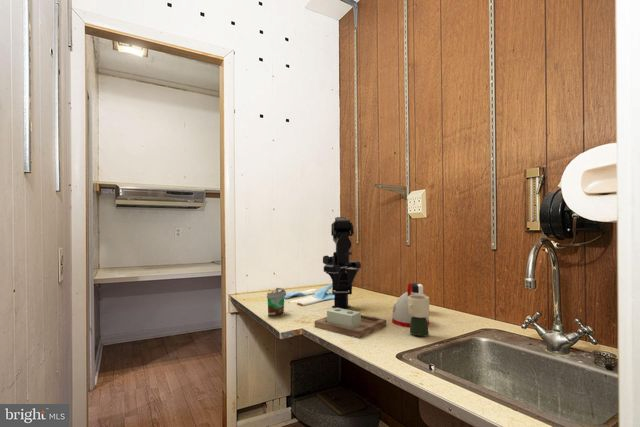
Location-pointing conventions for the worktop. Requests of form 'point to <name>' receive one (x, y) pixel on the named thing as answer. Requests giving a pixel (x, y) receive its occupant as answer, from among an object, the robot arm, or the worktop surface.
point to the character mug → (418, 314)
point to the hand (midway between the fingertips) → (343, 287)
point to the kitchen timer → (403, 310)
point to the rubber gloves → (313, 299)
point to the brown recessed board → (366, 327)
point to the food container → (276, 302)
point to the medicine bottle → (417, 289)
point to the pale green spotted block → (344, 317)
